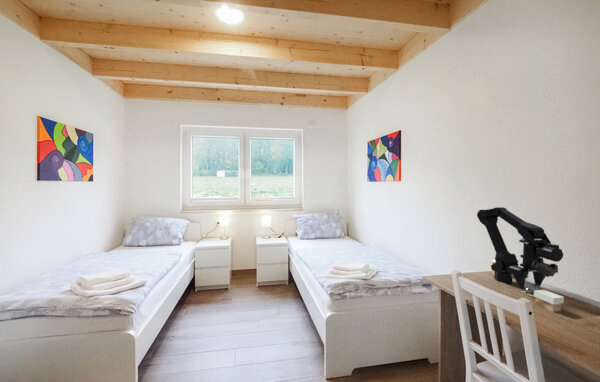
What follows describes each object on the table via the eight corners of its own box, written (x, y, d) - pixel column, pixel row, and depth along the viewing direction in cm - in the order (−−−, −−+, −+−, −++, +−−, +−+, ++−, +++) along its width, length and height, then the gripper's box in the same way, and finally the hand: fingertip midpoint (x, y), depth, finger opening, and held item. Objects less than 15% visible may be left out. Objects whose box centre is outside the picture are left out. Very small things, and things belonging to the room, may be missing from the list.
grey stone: (518, 289, 117) (519, 279, 117) (523, 289, 117) (524, 279, 117) (535, 296, 110) (536, 286, 110) (540, 296, 111) (541, 285, 110)
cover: (533, 296, 104) (534, 290, 104) (543, 295, 105) (543, 289, 105) (553, 304, 97) (553, 298, 97) (563, 303, 98) (563, 297, 98)
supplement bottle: (502, 278, 134) (503, 259, 133) (489, 274, 139) (490, 256, 138) (506, 276, 137) (506, 257, 136) (493, 272, 142) (494, 254, 141)
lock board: (507, 295, 114) (507, 285, 114) (529, 292, 117) (530, 283, 117) (551, 315, 98) (552, 303, 97) (576, 311, 100) (576, 300, 100)
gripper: (535, 261, 103) (533, 298, 104) (569, 258, 107) (567, 294, 108) (507, 253, 114) (506, 287, 115) (539, 251, 118) (538, 283, 119)
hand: (529, 288), depth 114 cm, fingers open, 9 cm apart
